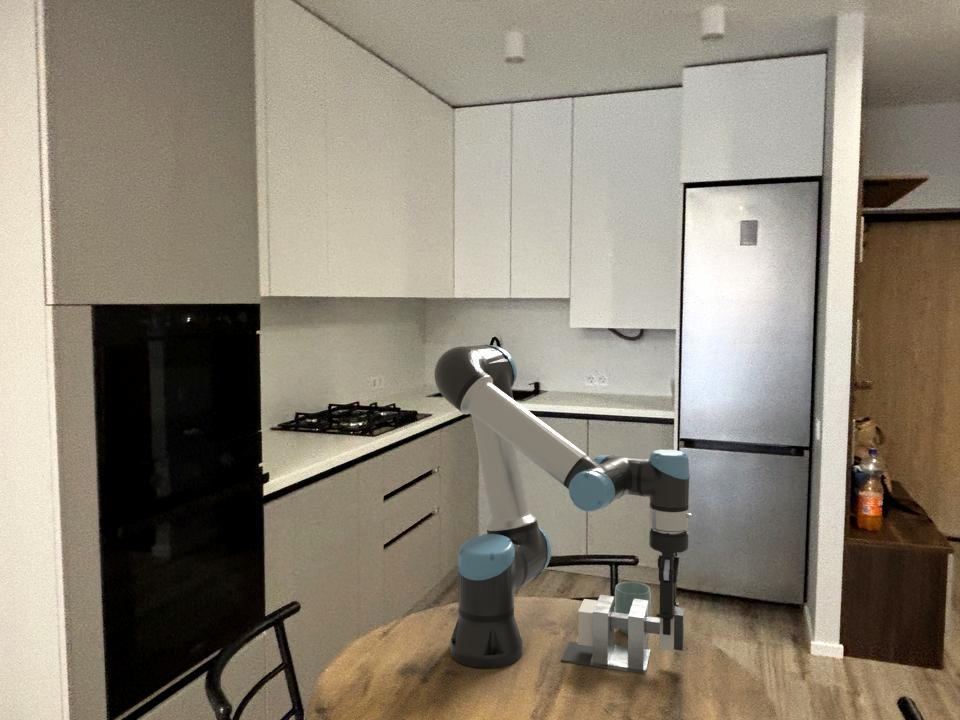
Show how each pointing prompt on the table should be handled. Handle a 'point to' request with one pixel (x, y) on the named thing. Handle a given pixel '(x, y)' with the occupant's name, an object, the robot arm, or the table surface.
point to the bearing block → (603, 638)
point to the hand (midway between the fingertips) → (667, 643)
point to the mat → (578, 654)
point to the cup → (630, 597)
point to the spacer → (586, 622)
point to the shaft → (653, 625)
